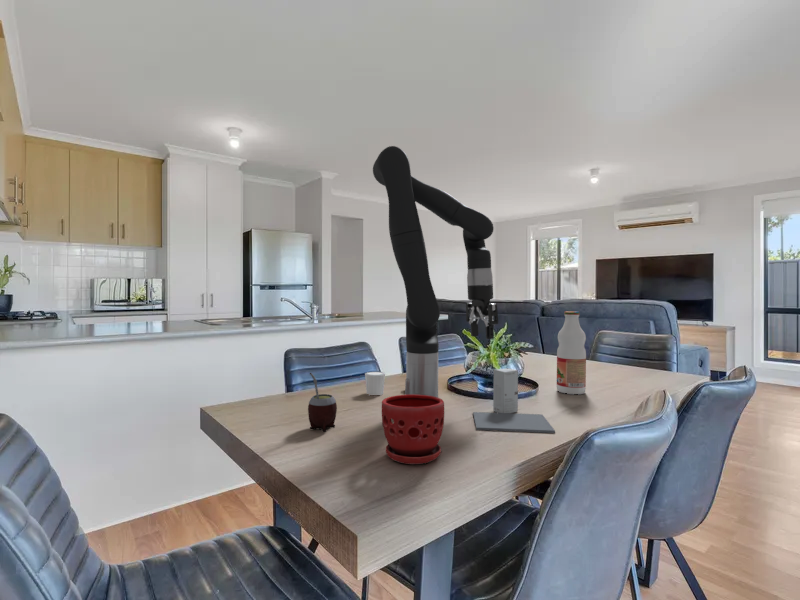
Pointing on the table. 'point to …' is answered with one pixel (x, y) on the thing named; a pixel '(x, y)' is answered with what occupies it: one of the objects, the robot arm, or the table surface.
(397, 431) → the plant pot
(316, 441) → the table surface
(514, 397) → the skincare box
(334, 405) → the mate gourd
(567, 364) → the fruit juice
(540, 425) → the slate mat
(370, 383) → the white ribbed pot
